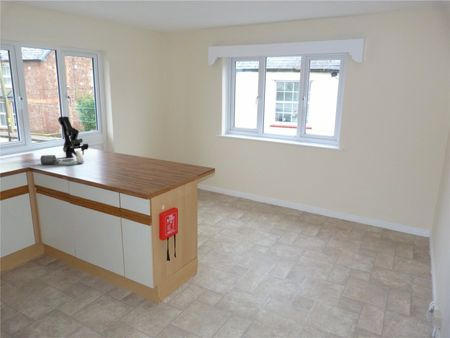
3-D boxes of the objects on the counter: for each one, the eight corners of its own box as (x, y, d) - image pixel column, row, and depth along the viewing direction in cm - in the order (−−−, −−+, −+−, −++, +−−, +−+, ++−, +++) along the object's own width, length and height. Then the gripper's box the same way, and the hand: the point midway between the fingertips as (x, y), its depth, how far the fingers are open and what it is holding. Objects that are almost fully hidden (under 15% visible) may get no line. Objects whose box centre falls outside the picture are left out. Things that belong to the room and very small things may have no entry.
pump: (77, 161, 299) (76, 150, 296) (84, 161, 299) (83, 150, 297) (75, 163, 292) (74, 152, 290) (83, 163, 293) (81, 152, 291)
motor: (45, 162, 300) (44, 154, 298) (76, 161, 303) (74, 153, 301) (40, 166, 288) (39, 157, 286) (71, 165, 292) (70, 156, 290)
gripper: (64, 136, 287) (69, 151, 282) (86, 134, 299) (92, 148, 293) (63, 144, 295) (68, 158, 290) (84, 142, 306) (90, 155, 301)
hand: (79, 155), depth 293 cm, fingers closed on pump, 5 cm apart
